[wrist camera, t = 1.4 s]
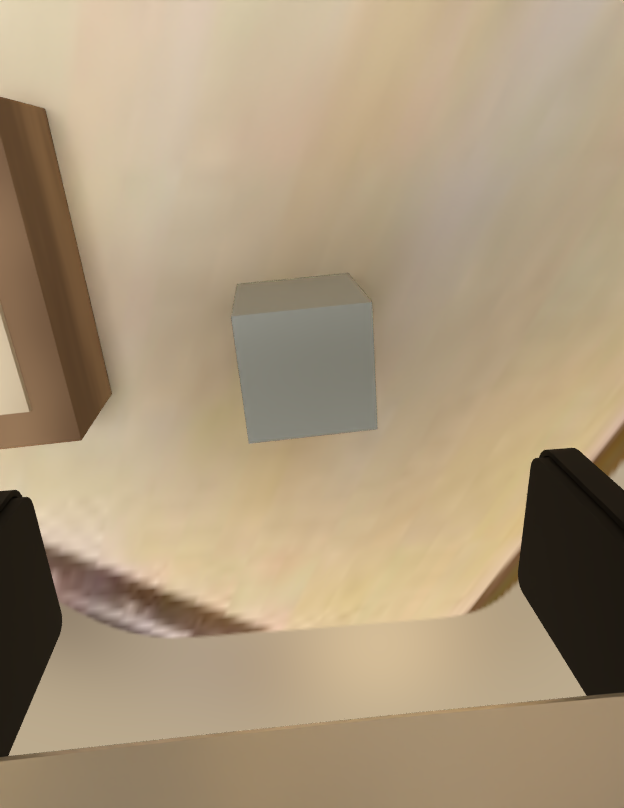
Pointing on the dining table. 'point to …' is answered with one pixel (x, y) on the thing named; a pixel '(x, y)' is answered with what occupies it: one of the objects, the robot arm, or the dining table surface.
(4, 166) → the base
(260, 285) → the block
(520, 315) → the dining table surface
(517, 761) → the robot arm
